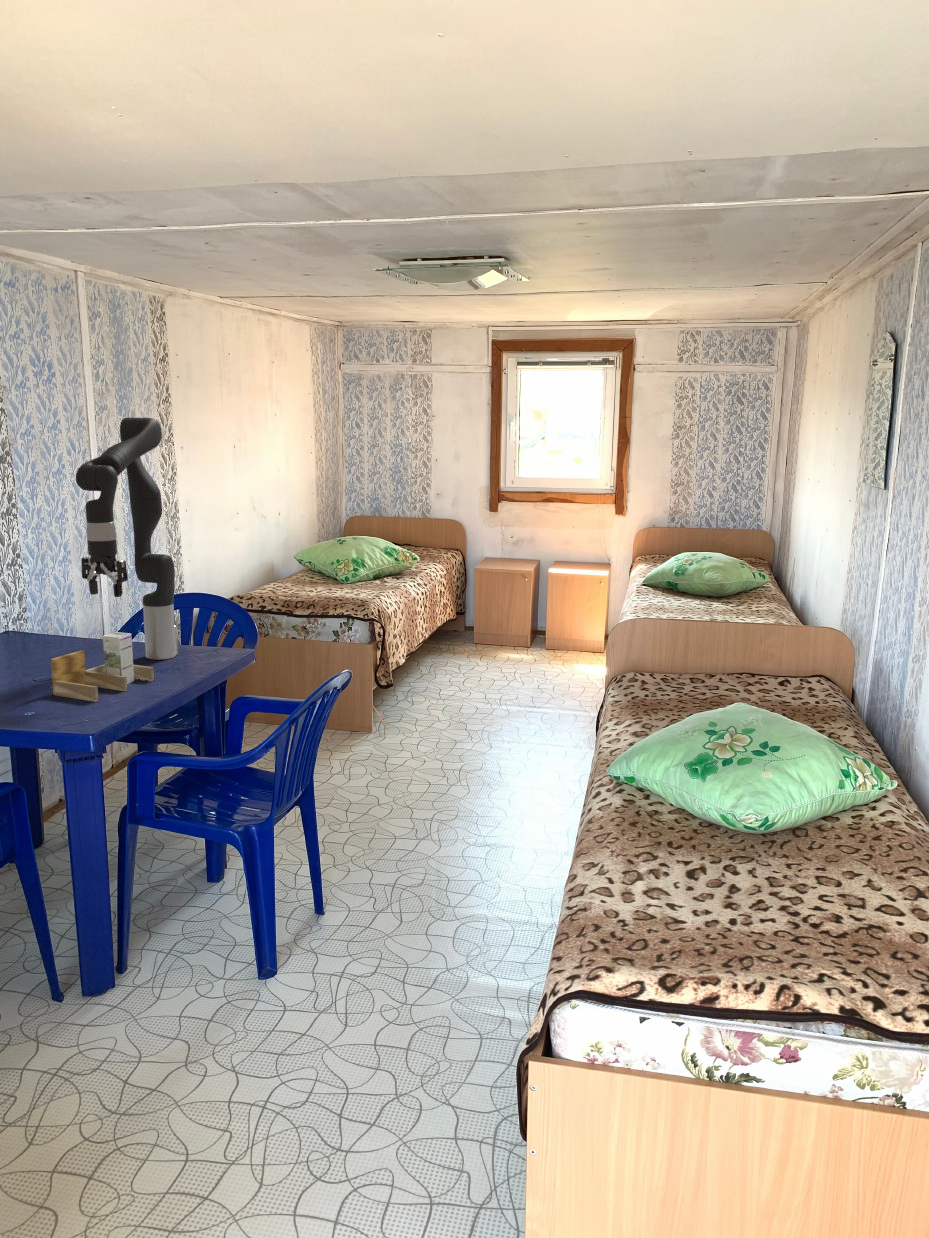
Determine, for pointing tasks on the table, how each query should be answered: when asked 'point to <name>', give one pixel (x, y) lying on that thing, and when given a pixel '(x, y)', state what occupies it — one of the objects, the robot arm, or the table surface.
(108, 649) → the syrup box
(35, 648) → the table surface
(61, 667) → the wooden rack
